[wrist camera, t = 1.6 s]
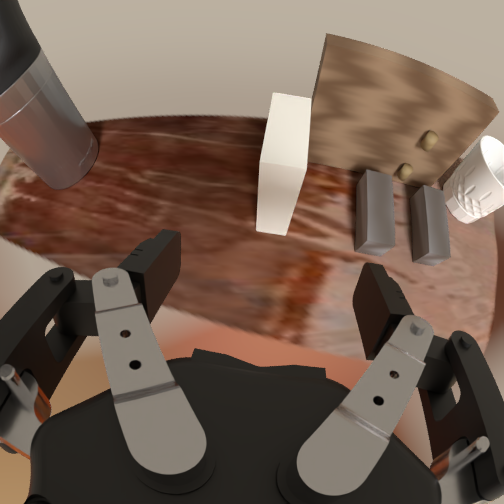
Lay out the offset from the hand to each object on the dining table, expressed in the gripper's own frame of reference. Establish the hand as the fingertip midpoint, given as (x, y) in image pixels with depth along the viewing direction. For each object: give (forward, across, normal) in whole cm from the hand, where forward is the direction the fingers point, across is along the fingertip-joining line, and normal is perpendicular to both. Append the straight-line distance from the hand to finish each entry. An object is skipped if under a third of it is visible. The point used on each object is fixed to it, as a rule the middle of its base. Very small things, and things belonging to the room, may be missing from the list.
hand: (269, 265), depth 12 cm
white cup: (+23, -25, -1) cm, 34 cm away
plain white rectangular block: (+19, 0, +3) cm, 19 cm away
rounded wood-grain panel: (+20, -11, +2) cm, 23 cm away
